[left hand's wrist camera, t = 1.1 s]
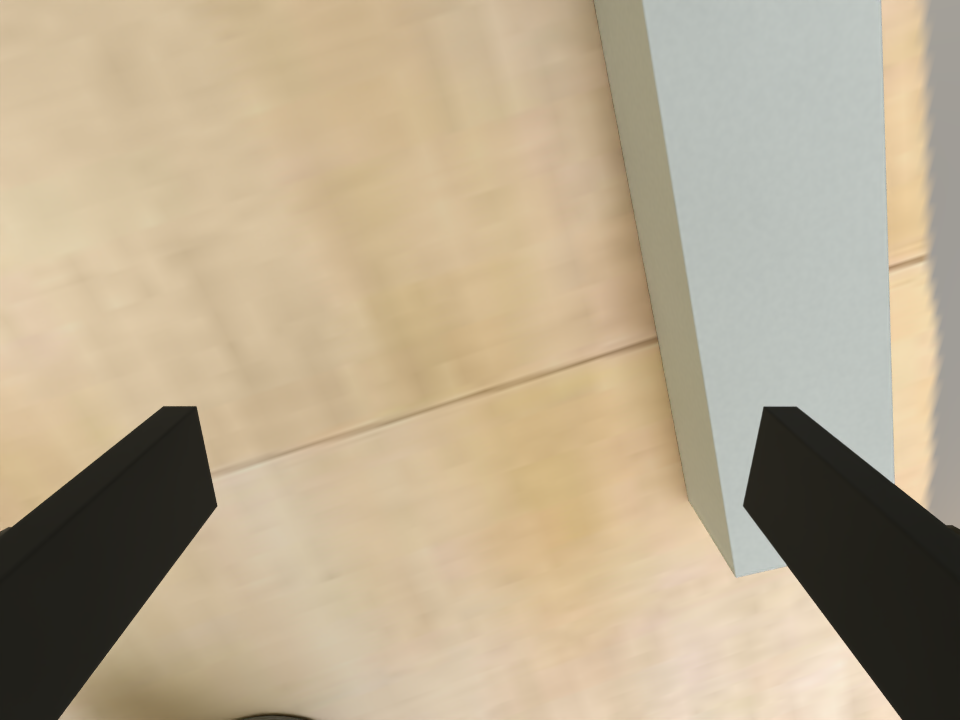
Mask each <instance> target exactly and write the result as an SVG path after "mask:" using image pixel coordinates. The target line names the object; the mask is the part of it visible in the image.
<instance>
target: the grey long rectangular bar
mask: <svg viewBox="0 0 960 720" xmlns="http://www.w3.org/2000/svg"><path fill="white" fill-rule="evenodd" d="M594 5H595V10H596V15H597V21H598V26H599V31H600V36H601V42H602V47H603V52H604V57H605V63H606V68H607V73H608V79H609V84H610V89H611V94H612V100H613V105H614V110H615V115H616V121H617V126H618V131H619V137H620V142H621V147H622V152H623V158H624V163H625V168H626V173H627V179H628V184H629V189H630V195H631V200H632V205H633V210H634V216H635V221H636V226H637V231H638V237H639V242H640V247H641V253H642V258H643V263H644V268H645V274H646V279H647V284H648V289H649V295H650V300H651V305H652V310H653V316H654V321H655V326H656V332H657V337H658V342H659V347H660V353H661V358H662V363H663V368H664V374H665V379H666V384H667V390H668V395H669V400H670V405H671V411H672V416H673V421H674V426H675V432H676V437H677V442H678V448H679V453H680V458H681V463H682V469H683V474H684V479H685V484H686V490H687V495H688V500H689V502H690V504H691V505H692V507H693V509H694V510H695V512H696V514H697V515H698V517H699V519H700V520H701V522H702V523H703V525H704V527H705V528H706V530H707V532H708V533H709V535H710V536H711V538H712V540H713V541H714V543H715V545H716V546H717V548H718V549H719V551H720V553H721V554H722V556H723V558H724V559H725V561H726V562H727V564H728V566H729V567H730V569H731V571H732V572H733V574H734V576H735V577H742V576H746V575H750V574H755V573H759V572H763V571H768V570H772V569H777V568H781V567H785V566H787V565H786V563H785V562H784V561H783V559H782V558H781V557H780V555H779V554H778V553H777V551H776V550H775V549H774V547H773V546H772V545H771V543H770V542H769V541H768V539H767V538H766V537H765V535H764V534H763V533H762V531H761V530H760V529H759V527H758V526H757V525H756V523H755V522H754V521H753V519H752V518H751V517H750V515H749V514H748V512H747V511H746V510H745V508H744V507H743V502H744V497H745V493H746V488H747V483H748V478H749V474H750V469H751V464H752V459H753V454H754V450H755V445H756V440H757V435H758V431H759V426H760V421H761V416H762V411H763V407H764V406H797V407H798V408H799V409H800V410H802V411H803V412H804V413H806V414H807V415H808V416H809V417H811V418H812V419H813V420H814V421H816V422H817V423H818V424H819V425H821V426H822V427H823V428H824V429H826V430H827V431H828V432H829V433H831V434H832V435H833V436H834V437H836V438H837V439H838V440H839V441H841V442H842V443H843V444H844V445H846V446H847V447H848V448H849V449H851V450H852V451H853V452H854V453H856V454H857V455H858V456H859V457H861V458H862V459H863V460H865V461H866V462H867V463H868V464H870V465H871V466H872V467H873V468H875V469H876V470H877V471H878V472H880V473H881V474H882V475H883V476H885V477H886V478H887V479H888V480H890V481H891V482H892V483H893V484H895V478H894V443H893V407H892V372H891V336H890V301H889V265H888V230H887V194H886V159H885V123H884V88H883V52H882V17H881V0H594Z"/></svg>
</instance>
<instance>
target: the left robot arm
mask: <svg viewBox="0 0 960 720" xmlns="http://www.w3.org/2000/svg"><path fill="white" fill-rule="evenodd" d="M216 507H217V502H216V497H215V493H214V488H213V483H212V478H211V474H210V469H209V464H208V459H207V454H206V450H205V445H204V440H203V435H202V431H201V426H200V421H199V416H198V411H197V407H196V406H163V407H162V408H161V409H160V410H158V411H157V412H156V413H154V414H153V415H152V416H151V417H149V418H148V419H147V420H146V421H144V422H143V423H142V424H141V425H139V426H138V427H137V428H136V429H134V430H133V431H132V432H131V433H129V434H128V435H127V436H126V437H124V438H123V439H122V440H121V441H119V442H118V443H117V444H116V445H114V446H113V447H112V448H111V449H109V450H108V451H107V452H106V453H104V454H103V455H102V456H101V457H99V458H98V459H97V460H95V461H94V462H93V463H92V464H90V465H89V466H88V467H87V468H85V469H84V470H83V471H82V472H80V473H79V474H78V475H77V476H75V477H74V478H73V479H72V480H70V481H69V482H68V483H67V484H65V485H64V486H63V487H62V488H60V489H59V490H58V491H57V492H55V493H54V494H53V495H52V496H50V497H49V498H48V499H47V500H45V501H44V502H43V503H42V504H40V505H39V506H38V507H37V508H35V509H34V510H33V511H31V512H30V513H29V514H28V515H26V516H25V517H24V518H23V519H21V520H20V521H19V522H18V523H16V524H15V525H14V526H13V527H8V528H6V529H4V530H2V531H0V720H58V719H59V717H60V716H61V715H62V713H63V712H64V711H65V709H66V708H67V707H68V705H69V704H70V703H71V701H72V700H73V699H74V697H75V696H76V695H77V693H78V692H79V691H80V689H81V688H82V687H83V685H84V684H85V683H86V681H87V680H88V679H89V677H90V676H91V675H92V673H93V672H94V671H95V669H96V668H97V667H98V665H99V664H100V663H101V661H102V660H103V659H104V657H105V656H106V655H107V653H108V652H109V650H110V649H111V648H112V646H113V645H114V644H115V642H116V641H117V640H118V638H119V637H120V636H121V634H122V633H123V632H124V630H125V629H126V628H127V626H128V625H129V624H130V622H131V621H132V620H133V618H134V617H135V616H136V614H137V613H138V612H139V610H140V609H141V608H142V606H143V605H144V604H145V602H146V601H147V600H148V598H149V597H150V596H151V594H152V593H153V592H154V590H155V589H156V588H157V586H158V585H159V583H160V582H161V581H162V579H163V578H164V577H165V575H166V574H167V573H168V571H169V570H170V569H171V567H172V566H173V565H174V563H175V562H176V561H177V559H178V558H179V557H180V555H181V554H182V553H183V551H184V550H185V549H186V547H187V546H188V545H189V543H190V542H191V541H192V539H193V538H194V537H195V535H196V534H197V533H198V531H199V530H200V529H201V527H202V526H203V525H204V523H205V522H206V521H207V519H208V518H209V517H210V515H211V514H212V512H213V511H214V510H215V508H216ZM743 507H744V508H745V510H746V511H747V512H748V514H749V515H750V517H751V518H752V519H753V521H754V522H755V523H756V525H757V526H758V527H759V529H760V530H761V531H762V533H763V534H764V535H765V537H766V538H767V539H768V541H769V542H770V543H771V545H772V546H773V547H774V549H775V550H776V551H777V553H778V554H779V555H780V557H781V558H782V559H783V561H784V562H785V563H786V565H787V566H788V567H789V569H790V570H791V571H792V573H793V574H794V575H795V577H796V578H797V579H798V581H799V582H800V583H801V585H802V586H803V588H804V589H805V590H806V592H807V593H808V594H809V596H810V597H811V598H812V600H813V601H814V602H815V604H816V605H817V606H818V608H819V609H820V610H821V612H822V613H823V614H824V616H825V617H826V618H827V620H828V621H829V622H830V624H831V625H832V626H833V628H834V629H835V630H836V632H837V633H838V634H839V636H840V637H841V638H842V640H843V641H844V642H845V644H846V645H847V646H848V648H849V649H850V650H851V652H852V653H853V655H854V656H855V657H856V659H857V660H858V661H859V663H860V664H861V665H862V667H863V668H864V669H865V671H866V672H867V673H868V675H869V676H870V677H871V679H872V680H873V681H874V683H875V684H876V685H877V687H878V688H879V689H880V691H881V692H882V693H883V695H884V696H885V697H886V699H887V700H888V701H889V703H890V704H891V705H892V707H893V708H894V709H895V711H896V712H897V713H898V715H899V716H900V717H901V719H902V720H960V529H958V528H956V527H954V526H953V525H945V524H943V523H942V522H941V521H940V520H939V519H937V518H936V517H935V516H934V515H932V514H931V513H930V512H929V511H927V510H926V509H925V508H923V507H922V506H921V505H920V504H918V503H917V502H916V501H915V500H913V499H912V498H911V497H910V496H908V495H907V494H906V493H905V492H903V491H902V490H901V489H900V488H898V487H897V486H896V485H895V484H893V483H892V482H891V481H890V480H888V479H887V478H886V477H885V476H883V475H882V474H881V473H880V472H878V471H877V470H876V469H875V468H873V467H872V466H871V465H870V464H868V463H867V462H866V461H865V460H863V459H862V458H861V457H859V456H858V455H857V454H856V453H854V452H853V451H852V450H851V449H849V448H848V447H847V446H846V445H844V444H843V443H842V442H841V441H839V440H838V439H837V438H836V437H834V436H833V435H832V434H831V433H829V432H828V431H827V430H826V429H824V428H823V427H822V426H821V425H819V424H818V423H817V422H816V421H814V420H813V419H812V418H811V417H809V416H808V415H807V414H806V413H804V412H803V411H802V410H800V409H799V408H798V407H797V406H764V407H763V411H762V416H761V421H760V426H759V431H758V435H757V440H756V445H755V450H754V454H753V459H752V464H751V469H750V474H749V478H748V483H747V488H746V493H745V497H744V502H743ZM243 720H303V719H298V718H292V717H285V716H260V717H253V718H247V719H243Z"/></svg>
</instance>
